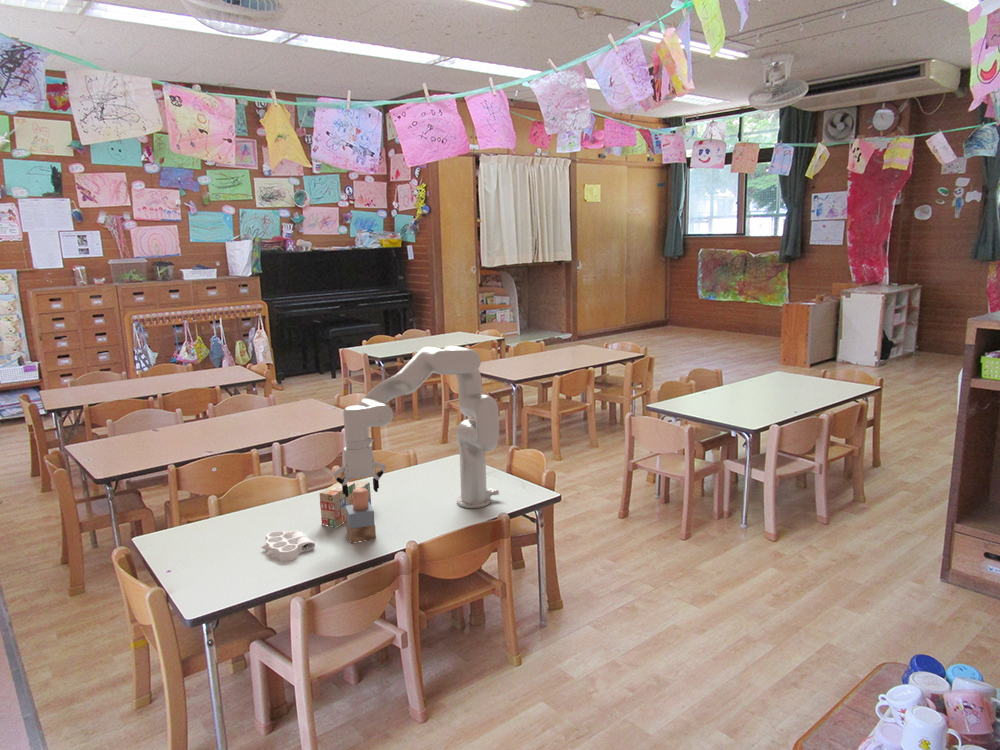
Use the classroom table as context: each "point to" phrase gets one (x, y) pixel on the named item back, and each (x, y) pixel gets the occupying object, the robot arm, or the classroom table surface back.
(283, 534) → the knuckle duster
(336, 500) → the stack of blocks
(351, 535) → the tower base
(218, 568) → the classroom table surface
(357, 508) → the terracotta cylinder
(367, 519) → the tower top
